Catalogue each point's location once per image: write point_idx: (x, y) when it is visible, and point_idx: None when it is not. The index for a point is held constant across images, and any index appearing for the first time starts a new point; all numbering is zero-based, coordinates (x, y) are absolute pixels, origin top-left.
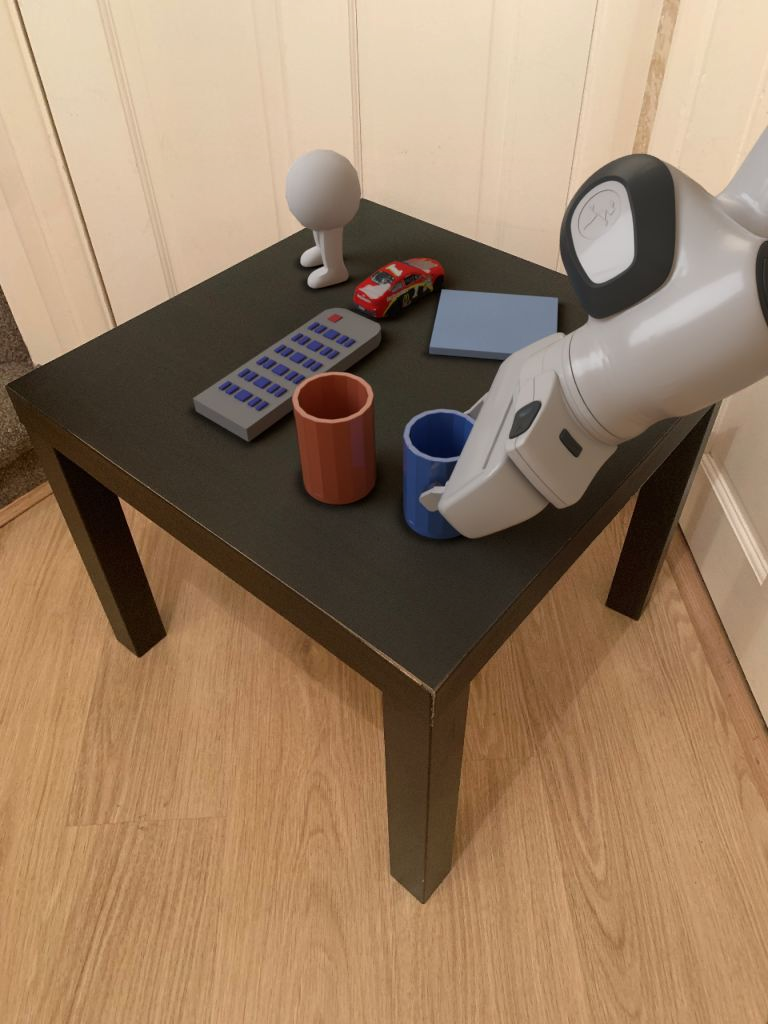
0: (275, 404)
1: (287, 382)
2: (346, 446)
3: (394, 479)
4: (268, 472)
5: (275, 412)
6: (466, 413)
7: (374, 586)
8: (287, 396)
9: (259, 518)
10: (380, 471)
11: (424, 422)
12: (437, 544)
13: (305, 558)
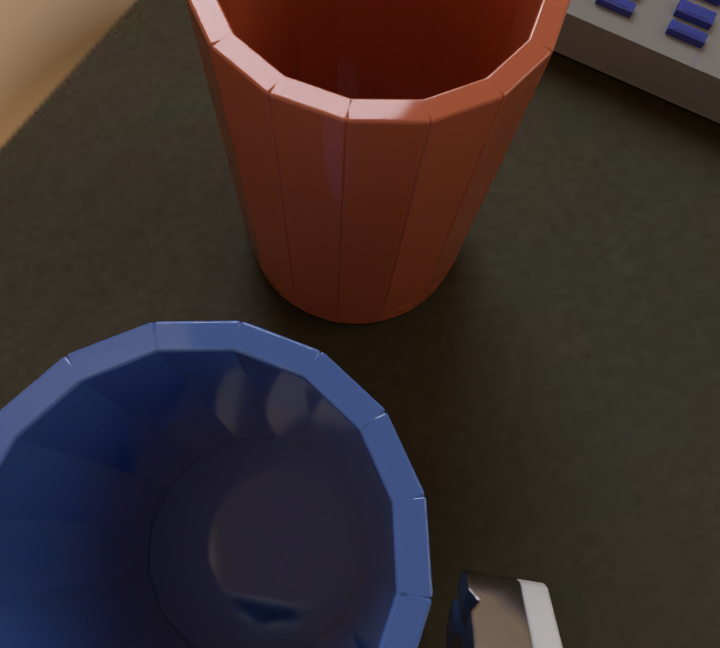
0: None
1: (664, 12)
2: (227, 135)
3: (380, 376)
4: None
5: None
6: (533, 643)
7: None
8: (607, 23)
9: (183, 77)
10: (406, 330)
11: (339, 420)
12: None
13: (51, 203)
